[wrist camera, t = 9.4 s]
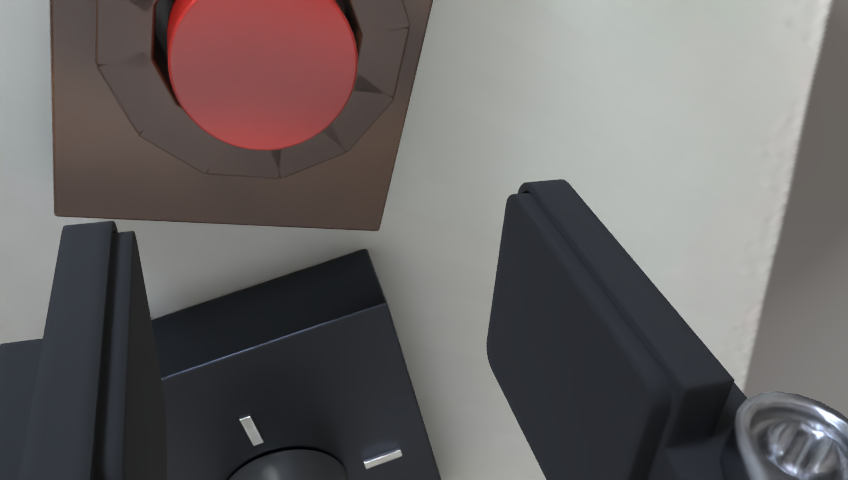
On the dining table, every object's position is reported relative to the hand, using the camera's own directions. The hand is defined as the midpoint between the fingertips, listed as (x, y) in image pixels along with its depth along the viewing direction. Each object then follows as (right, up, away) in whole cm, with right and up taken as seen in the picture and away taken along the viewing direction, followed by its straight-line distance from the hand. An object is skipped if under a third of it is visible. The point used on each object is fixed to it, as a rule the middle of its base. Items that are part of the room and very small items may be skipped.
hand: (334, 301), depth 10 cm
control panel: (-5, -7, +20) cm, 22 cm away
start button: (-3, +5, +8) cm, 10 cm away
